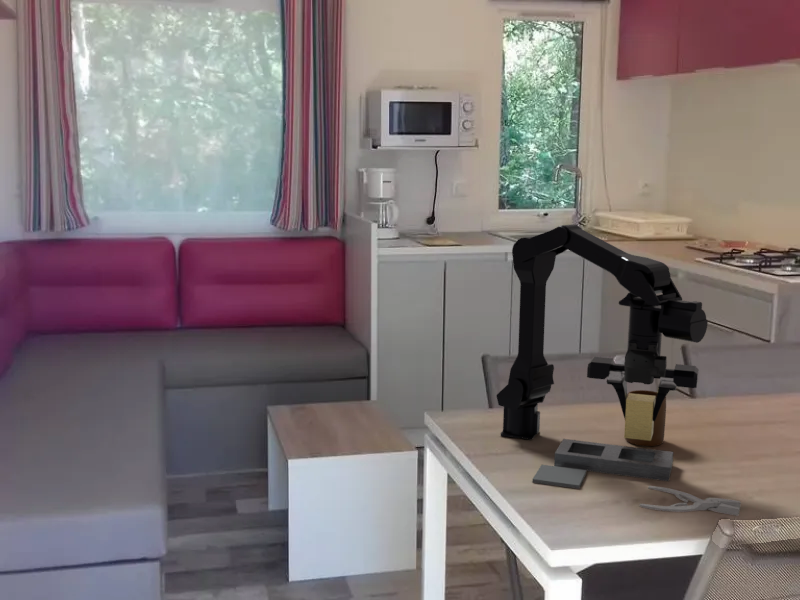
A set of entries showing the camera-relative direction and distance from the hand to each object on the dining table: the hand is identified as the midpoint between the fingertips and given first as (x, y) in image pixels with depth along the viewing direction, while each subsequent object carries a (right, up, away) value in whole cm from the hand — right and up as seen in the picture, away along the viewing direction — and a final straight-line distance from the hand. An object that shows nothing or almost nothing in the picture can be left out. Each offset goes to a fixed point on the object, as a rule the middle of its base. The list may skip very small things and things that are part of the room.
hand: (639, 418), depth 169 cm
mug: (+4, -7, +16) cm, 18 cm away
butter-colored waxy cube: (0, -3, 0) cm, 3 cm away
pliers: (+5, -13, -15) cm, 20 cm away
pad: (-15, -10, -4) cm, 18 cm away
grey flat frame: (-4, -9, +3) cm, 10 cm away
